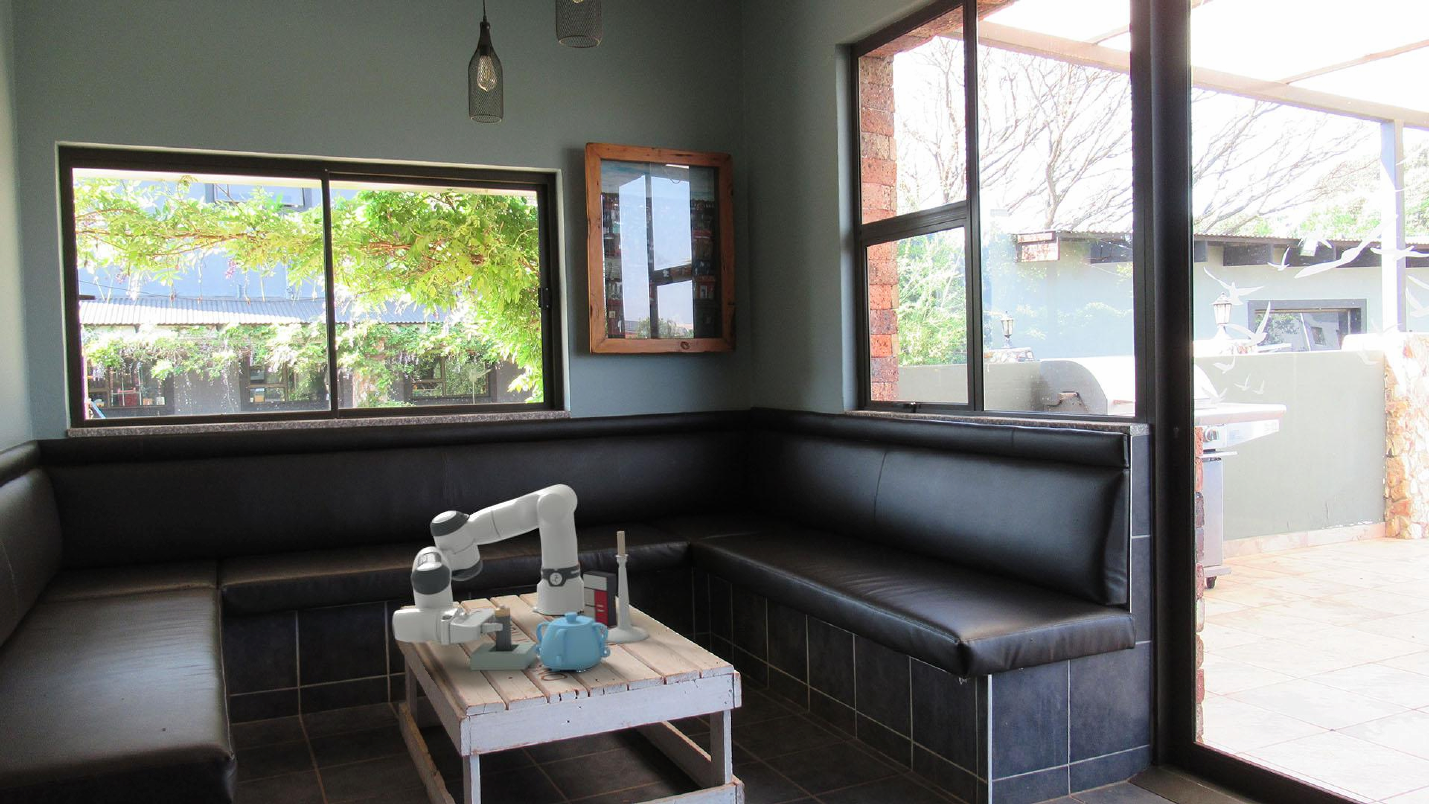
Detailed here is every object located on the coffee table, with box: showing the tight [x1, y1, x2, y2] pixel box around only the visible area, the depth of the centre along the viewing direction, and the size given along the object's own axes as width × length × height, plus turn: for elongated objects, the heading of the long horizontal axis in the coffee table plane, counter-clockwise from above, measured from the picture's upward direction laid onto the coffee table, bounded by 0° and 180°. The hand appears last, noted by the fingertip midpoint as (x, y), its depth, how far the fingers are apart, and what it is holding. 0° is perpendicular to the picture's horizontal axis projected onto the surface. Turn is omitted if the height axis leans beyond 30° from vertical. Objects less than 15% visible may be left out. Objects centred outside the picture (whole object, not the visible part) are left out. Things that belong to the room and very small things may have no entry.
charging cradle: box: [469, 641, 538, 671], centre depth 256 cm, size 11×14×4 cm
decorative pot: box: [535, 612, 611, 673], centre depth 251 cm, size 16×16×14 cm
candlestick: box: [602, 529, 649, 644], centre depth 277 cm, size 13×13×30 cm
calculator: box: [582, 570, 618, 628], centre depth 293 cm, size 11×4×15 cm, turn 47°
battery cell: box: [494, 604, 512, 652], centre depth 256 cm, size 4×4×13 cm
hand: (506, 623), depth 256 cm, fingers closed on battery cell, 4 cm apart
